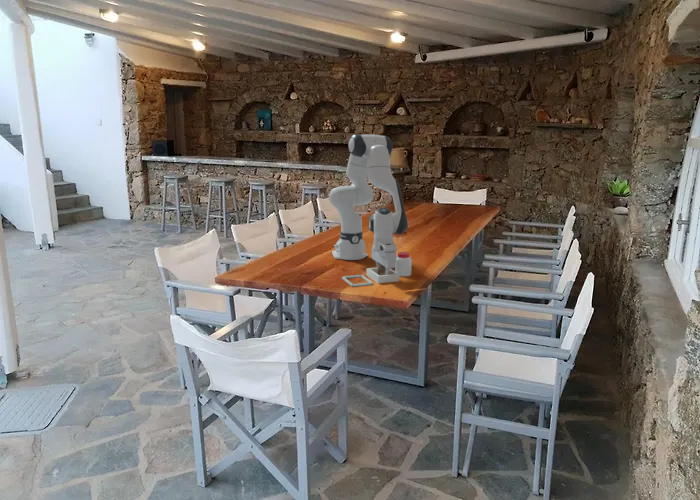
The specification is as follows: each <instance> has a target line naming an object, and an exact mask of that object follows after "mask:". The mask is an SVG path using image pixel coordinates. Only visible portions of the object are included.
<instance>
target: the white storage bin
mask: <svg viewBox="0 0 700 500" xmlns="http://www.w3.org/2000/svg"><path fill="white" fill-rule="evenodd" d="M365 270H366V271H365V272H366V276H367V277H368V278H370V280H373V281H374V283H375V282H376V283H377V284H384V283H385V284H386V283H393V282H400V276H399V274H398V273H396V272H395V270H393V268H391V269H390V272H389V275H378V270H377V267H369V268H366V269H365Z"/></svg>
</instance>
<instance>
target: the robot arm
mask: <svg viewBox="0 0 700 500" xmlns="http://www.w3.org/2000/svg"><path fill="white" fill-rule="evenodd" d="M392 151H393V141H392V139H391V138H390V137H389V136H386V135H379V134H374V133H373V134H372V133H371V134H361V133H359V134H353V135H351V136H350V138H349V140H348V152H349V153H350V155H349V158H348V161H347V166H346V171H345V175H346V177H347V179H349V180H350V181H351V184H350V185H341V186H337V187H334V188H331V190H330V191H329V194H328V198H329V199H328V200H329V203H330V204H331V205H332V206H333V207H334V208H335V209H336V210H337V212H338V214H339V217H340V230H341V231H340V233H339V239H338V240H337V242H336V244H333V248H334V250H332V251H331V254H332V255H333V257H334V259H337V260H343V261H344V260H345V261H346V260H347V261H356V260H357V261H359V260H363V259H365V258H366V257H368V256H369V255H368V253H366V241H365V240H363V236H364V235H363V234H364V233H363V230H362V229H363V225H362V224H363V223H362V221H363V219H362V217H361V215H360V214H359V213H358V212H357V213H356V212H355V208H354V207H357V206H364V205H368V204H370V203H371V202H372V201H373V198H374V191H373V189H372V187H371V186H370V185H369V183H370V184H371V185H372V186H374V187H375V188H378V189H380V190H383V191H386V192H388V193H389V194H390V195H391V197H392V201H393V205H394V210H395V212H393V211H392V210H391V209H390V208H387V207H380V208H377V209H375V211H374V213H373V214H371V215H370V216H369V217H368V230H369V231H370V232H371V233H373V245H372V247H371V259H372V260H373V261H375V265H376V268H377V270H378V264H381V265H383V266H385V269H386V270H385V272H384V273H385V274H384V275H389V272H390V269H395V266H396V257H397V251H398V247H397V245H396V243H395V242H394V236H393V234H395V235H402V234H403V233H405V232H406V231H407V230H408V227H409V220H408V217H407V213H406V210H405V206H404V205H405V204H404V201H403V196H402V195H403V194H402V192H401V187H400V183H399V181H398V179H396V178H395V177H394V176H393V174H392V169H391V159H390V155H391V154H392ZM368 181H369V182H368Z"/></svg>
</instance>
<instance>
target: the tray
mask: <svg viewBox="0 0 700 500" xmlns="http://www.w3.org/2000/svg"><path fill="white" fill-rule="evenodd" d="M355 278H362V279H363V280H364V281H366V282H363V283H361V282H360V283H353V282H351V281H350V280H348V279H355ZM341 279H342V280H343V281H344V282H345V283H347V284H348V285H349V286H351V288H353V287H363V286H373V285H374V282H373V281H372V280H371V279H369V278H367V277H366V276H365V275H363V274H354V275H345V276H341Z"/></svg>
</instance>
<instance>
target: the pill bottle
mask: <svg viewBox="0 0 700 500" xmlns="http://www.w3.org/2000/svg"><path fill="white" fill-rule="evenodd" d="M412 261H413V260H412V257H411V256H410V252H407V251H399V252H397V255H396V266H395V268H394V271H395V272H396V273H398V274H399V277H409V276H411V275H412V263H413V262H412Z"/></svg>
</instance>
